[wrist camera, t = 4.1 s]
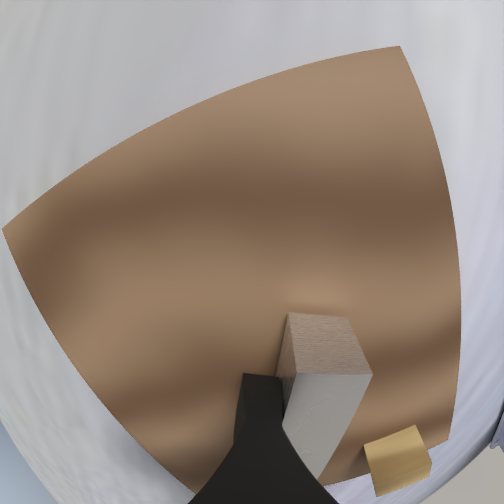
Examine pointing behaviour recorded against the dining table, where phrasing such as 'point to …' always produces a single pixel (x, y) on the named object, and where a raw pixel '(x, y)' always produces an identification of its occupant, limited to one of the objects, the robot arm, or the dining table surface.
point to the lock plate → (260, 263)
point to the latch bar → (320, 384)
